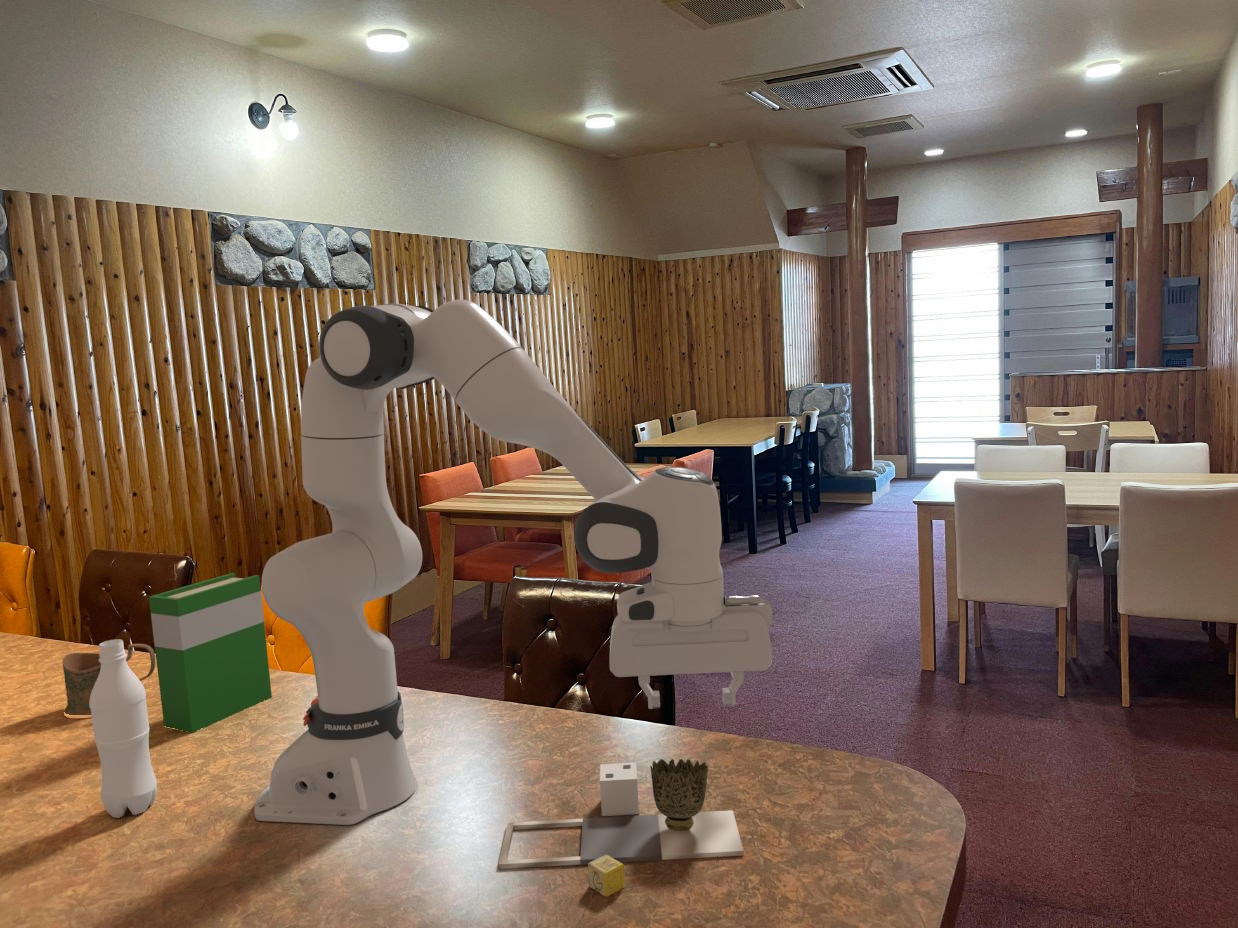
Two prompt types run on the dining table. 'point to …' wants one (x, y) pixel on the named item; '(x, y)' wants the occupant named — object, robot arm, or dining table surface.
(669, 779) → the cup
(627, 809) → the die
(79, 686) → the mug
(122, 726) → the water bottle
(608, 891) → the alphabet block
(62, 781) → the dining table surface
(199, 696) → the hardback book
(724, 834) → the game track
